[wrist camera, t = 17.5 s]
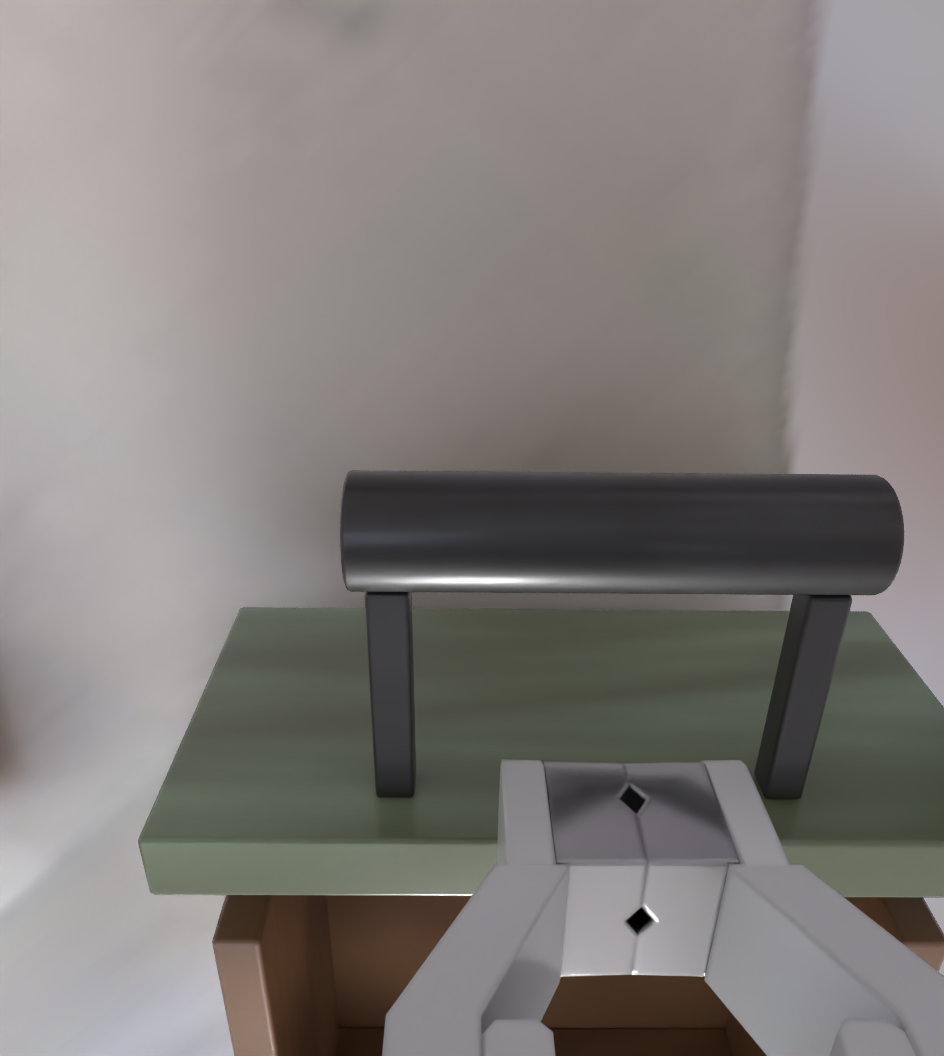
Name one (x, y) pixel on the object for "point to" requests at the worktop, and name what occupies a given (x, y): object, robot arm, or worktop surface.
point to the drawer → (542, 733)
